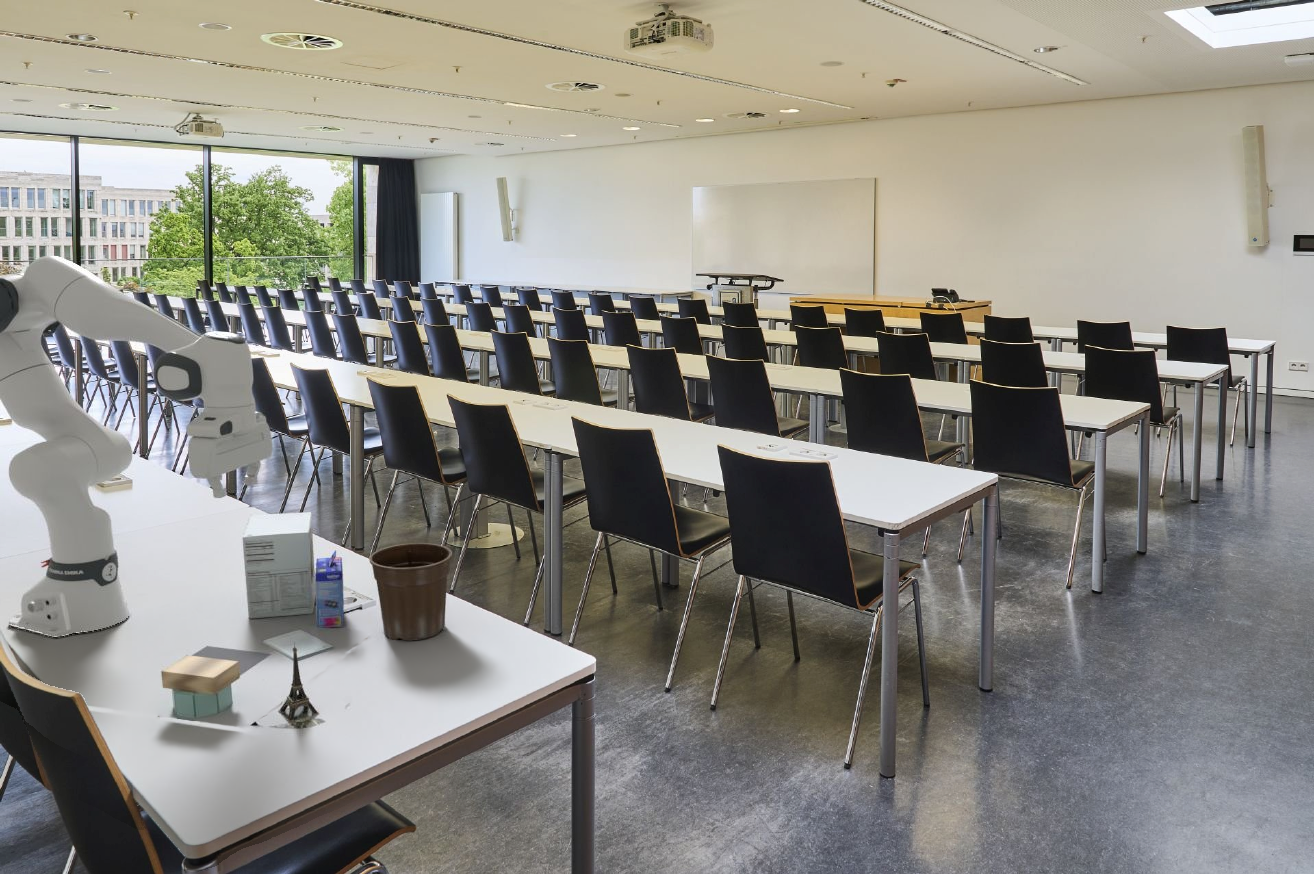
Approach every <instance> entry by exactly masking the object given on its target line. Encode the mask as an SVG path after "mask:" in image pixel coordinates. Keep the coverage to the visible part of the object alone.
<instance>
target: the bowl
mask: <svg viewBox="0 0 1314 874" xmlns="http://www.w3.org/2000/svg"><path fill="white" fill-rule="evenodd" d="M171 695H172V707H173V709H174V710H173V711H174V714H175V716H178V717H176V719H177V720H183V721H184V720H185V721H190V722H191V721H192V722H195V721H196V722H198V720H197V719H198V718H203V717H206V716H211V715H214V714H218V713H221V712H222V711H224V710H225V709H226V708H227V707H230V706H231V705H232V704H233V692H232V684H230V685H229V686H227V687H226V688H224V689H223V690H221V691H220V692H218V693H217V694H216V695H214V694H206V693H199V692H191V691H184V690H176V689H171ZM182 717H183V718H182ZM184 717H185V718H184ZM188 718H193V719H188ZM195 718H196V720H195Z"/></svg>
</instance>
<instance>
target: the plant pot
mask: <svg viewBox="0 0 1314 874" xmlns="http://www.w3.org/2000/svg"><path fill="white" fill-rule="evenodd" d="M452 557H453V550H451V549H450V548H448V547H447V546H445V545H441V544H437V543H426V542H418V543H417V542H413V543H402V544H395V545H391V546H386V547H385V548H381V549H379V550H377V551H374V552H373V553H372V554H370V556H369V557H368V558H369V563H370V565H372V566H371V567H372V571H373V578H374V580H375V581H376V585H377V587H376V588H377V592H378V599H379V600H378V601H379V605H380V606H379V607H380V611H381V613H380V614H381V619H382V620H381V621H382V625H383V632H384V634H385V636H387V638H390V639H393V640H398V639H403V640H404V641H419V640H425V639H429V638H431V637H434V636H436V635H439V634H440V632H441V631H443V630H444V629H445V626H446V603H447V601H446V600H447V588H448V587H447V586H448V585H447V584H448V575H449V572H450V564H451V563H450V561H451V558H452Z"/></svg>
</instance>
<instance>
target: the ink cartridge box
mask: <svg viewBox="0 0 1314 874" xmlns="http://www.w3.org/2000/svg"><path fill="white" fill-rule="evenodd" d="M343 570H344V569H343V557H339V556H338V557H337V550H334V551H333V553H332V554H331V557H322V558H320V557H319V558H316V563H315V580H316V595H315V609H316V610H315V611H316V612H315V614H316V627H318V628H324V629H325V628H326V629H327V628H342V627H344V612H345V611H344V610H345V607H344V574H343Z"/></svg>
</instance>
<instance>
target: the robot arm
mask: <svg viewBox="0 0 1314 874" xmlns="http://www.w3.org/2000/svg"><path fill="white" fill-rule="evenodd" d="M62 325H63V327H65V328H67V329H69V330H70V331H72V332H73V333H75V334H76V335H80V336H82V337H84V338H87V339H90V340H93V341H101V342H103V341H104V342H105V341H108V342H109V341H111V342H113V341H114V342H115V341H118V342H133V343H134V342H135V343H143V344H147V345H151V346H154V347H155V348H158V349H160V350H162V351H163V352H164V353H162V354H161V355H159V357H158V358H157V359H156V360H155V363H154V367H153V370H152V371H153V374H152V375H153V381H154V384H155V385H156V388H157V390H158V391H159V392H160V393H161V394H162V395H163V396H164V397H166V398H167V399H169V400H172V401H178V402H179V401H181V402H183V401H191V400H195V399H201V400H202V401H203V411H201V412H200V413H199V414H198V415H197V416H196V417H195V418H194V419H192V421H190V422H189V423H188V424H187V425H186V428H185V429H186V430H185V432H186V434H187V436H188V437H191V438H190V439H189V441H188V445H187V448H188V449H187V451H188V455H187V457H188V463H189V464H188V465H189V466H188V467H189V473H190V474H191V475H192V476H193V478H195V479H200V480H201V479H202V480H206V481H207V483H208V484H209V487H211V489H212V493H213V494H212V495H213V498H214V499H223V498H225V497H226V496H228V495H227V494H228V493H227V487H225V486H223V485H222V482H221V481H222V480H223V475H224V474H227V473H229V472H231V471H232V472H233V471H235V470H238V469H241V468H243V467H246V466H247V471H246V472H247V474H246V475H244V485H245V486H250V487H251V486H252V487H253V486H255V485H257V484H258V474H259V471H260V468H261V466H262V465H261V461H262V460H266V459H268V458H271V457H272V454H273V451H274V448H273V440H272V434H271V429H270V426H269V424H268V423H267V417H266V416H265V415H264V414H263V413H262V412H261V411H256V410H257V409H256V401H255V400H256V399H255V398H254V395H253V384H254V368H253V361H252V355H251V349H250V347H249V344H248V342H247V340H246V339H245V338H244V337H243V336H241V335H240V334H237V333H233V332H228V331H208V332H205V333H204V334H200V333H198V332H197V331H195V330H194V329H192V328H190V327H188V326H186V325H185V324H183V323H180V322H179V321H177V320H176V319H174V318H172V317H170V316H168V315H167V314H165V313H164V312H163V313H162V312H160V311H159V310H158V309H157V310H156V309H155V308H153V307H151V306H149V305H147V304H144V303H143V302H142V301H139V300H137V299H135V298H133V297H131V296H130V295H128V294H126V293H124V292H123V291H121V290H119V289H117V288H116V287H115V286H112V285H111V284H109V283H108V282H106V281H105V280H103V279H102V278H101V277H99V276H97V275H96V274H94V273H92V272H90V270H87V269H86V268H84V267H82V266H80V265H78V264H76V263H74V262H72V261H70V260H67V259H65V258H63V257H60V256H56V255H44V256H42V257H39V258H37V259H35V260H33V261H32V262H31V263H30V264H29V265H28V266H27V268H25V271H24V272H13V273H12V272H11V273H7V274H3V275H2V274H1V275H0V402H1V403H2V405H3V407H4V408H5V410H6V412H7V414H8V415H9V417H10V419H11V420H12V421H13V422H14V423H15V424H16V425H17V426H19V427H21V428H23V429H27V430H30V431H32V432H34V433H36V434H37V435H39V436H40V437H42V438H43V439H44V441H43V442H42V441H41V442H39V443H35V444H33V445H31V446H29V447H27V448H25V449H24V450H22V451H20V452H19V453H17V454H15V455H14V456H13V457H12V458H11V460H10V461H9V465H8V466H9V467H8V477H9V481H10V483H11V486H12V487H13V489H14V490H15V491H16V492H17V493H18V494H19V495H21V496H22V497H24V498H26V499H28V500H29V501H32V502H33V503H34V504H35V505H36V507H37V508H38V510H39V511H40V512H41V514H42V516H43V519H44V521H45V523H46V527H47V532H48V533H47V534H48V538H49V545H50V551H51V557H50V558H49V559H46V560H44V561H41V562H40V564H43V565H41V568H45V567H47V569H46V573H45V576H44V577H42V578H41V579H40V580H38V581H37V582H36V583H35V584H34V585H33V586H31V587H30V588H29V589H27V590H26V591H25V592H24V594H23V595H22V598H21V602H20V611H21V612H18V613H16V614H15V615H13V617H11V618H10V619H9V620H8V625H9V624H12V625H17V626H19V627H24V628H25V629H31V630H34V631H39V632H42V633H43V634H48V635H51V636H62V635H66V634H72V633H76V632H81V631H82V632H84V631H92V632H95V631H94V630H96V629H101V630H103V629H102V628H105V627H108V628H110V627H109V626H111V627H113V626H112V625H114V626H116V625H115V624H117V623H119V624H120V622H121V623H123V622H124V621H126V620H127V619H128V618H129V617H130V615H131V614H130V613H129V612H130V610H129V609H128V604H127V600H126V599H125V596H124V593H123V588H122V585H121V580H120V577H119V576H120V575H119V572H118V571H119V557H118V553H117V550H116V549H115V545H114V535H113V526H112V518H111V515H110V514H109V512H107V511H106V510H105V509H103V508H101V507H98V506H96V505H94V503H93V501H92V499H91V497H90V493H89V487H92V486H95V485H98V484H101V483H105V482H107V481H110V480H113V478H116V477H117V476H118V475H120V474H121V473H124V471H126V470H127V469H128V468H129V467H130V465H131V463H132V461H133V450H132V445H131V443H130V441H129V440H128V438H127V437H126V435H124V434H123V433H121V432H120V431H118V430H114V429H113V428H109V427H107V426H105V425H104V424H102V423H101V422H99V421H98V420H97V419H95V418H94V417H93V416H92V415H90V414H89V413H88V412H87V411H86V410H85V409H84V408H83V407H82V406H81V405H80V404H79V403H78V402H77V401H76V400H75V399H74V397H73V396H72V394H71V393H70V391H69V390H68V388H67V386H66V385H65V383H64V382H63V380H62V378H61V377H60V375H59V373H58V372H57V370H56V368H55V366H54V365H53V363H52V362H51V360H50V358H49V356H48V355H47V353H46V352H45V349H44V348H43V345H42V336H43V334H44V335H53V334H55V333H56V332H57V330H58V329H59V328H60V326H62ZM129 614H130V615H129ZM128 616H129V617H128ZM126 618H127V619H126ZM122 621H123V622H122ZM117 625H118V624H117ZM105 629H106V628H105ZM72 635H73V634H72Z"/></svg>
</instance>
